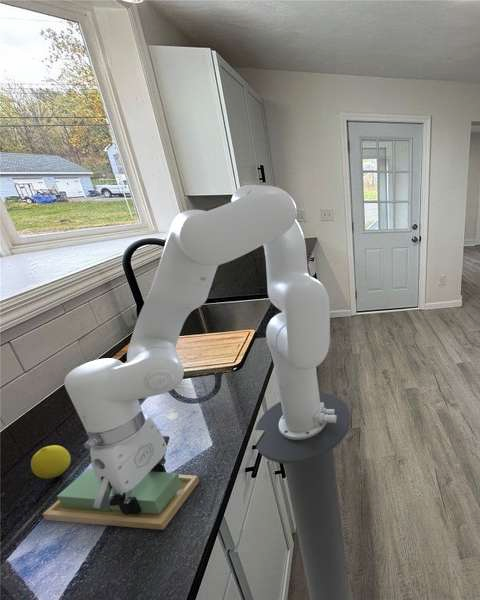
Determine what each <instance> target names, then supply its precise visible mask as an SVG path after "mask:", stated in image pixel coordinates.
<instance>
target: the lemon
mask: <svg viewBox="0 0 480 600" xmlns="http://www.w3.org/2000/svg"><path fill="white" fill-rule="evenodd" d="M71 460H72V457H71V454H70V452H69V451H68V449H66V448H65V447H64V446H61V445H58V444H57V445H56V444H51V445H47V446H44V447H42V448H40V449H39V450H38V451H37V452H35V454H34V455H33V456H32V458H31V460H30V468H31V471H32V473H33V474H34V475H35V476H36V477H38V478H40V479H53V478H56V477H60V476H61V475H62V474H63V473H65V472H66V471H67V470H68V468H69V467H70V465H71Z"/></svg>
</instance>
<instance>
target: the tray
mask: <svg viewBox="0 0 480 600" xmlns="http://www.w3.org/2000/svg"><path fill="white" fill-rule="evenodd" d="M92 470H94V469H93V468H92ZM178 475H179V478H180V481H181V483H182V486H181V487H180V489H179V490H178V491H177V492H176V494H175V495H174V496H173V497H172V499H171V500H170V501H169V503H168V504H167V505H166V506H165V508H164V509H163V510H162V511H161V513H160V514H154V513H142V512H140V513H139V514H138V515H136V514H130V515H125V514H123V513H122V512H121V511H119V510H112V511H111V512H102V511H90V510H78V509H66V508H63V506H62V504H61V503H60V501H59V499H57V500H56V501H55V502H54V503H53V504H52V505H51V506H50V507H48V508H47V509H46V510H45V511H44V512H43V513H42V516H43V517H44V519H45V520H46V521H55V522H67V523H78V524H79V523H80V524H88V525H101V526H114V527H124V528H125V527H126V528H136V529H147V530H158V531H159V530H161V531H164V530H165V528H166V527H167V526H168V524H169V523H170V522H171V520H172V519H173V518H174V516H175V515H176V514H177V512H178V511H179V510H180V509H181V507H182V506H183V504H185V501H186V500H187V499H188V498H189V496H190V495H191V493H192V492H193V491H194V489H195V488H196V487H197V485H199V483H200V479H199V476H198V475H191V474H178Z"/></svg>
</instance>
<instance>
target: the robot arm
mask: <svg viewBox="0 0 480 600" xmlns="http://www.w3.org/2000/svg"><path fill="white" fill-rule="evenodd" d="M297 213H298V210H297V206H296V203H295V201H294V199H293V197H292V196H291V194H289V193H288V192H287V191H286V190H284V189H282V188H280V187H278V186H274V185H267V184H266V185H264V184H246V185H242V186H240V187H238V188H237V189H236V190H235V191H234V192H233V194H232V196H231V201H230V202H228V203H225V204H223V205H220V206H218V207H215V208H213V209H209V210H203V209H189V210H185V211H182V212H180V213H179V214H178V215H176V217H175V218H174V220H173V221H172V223H171V227H170V229H169V232H168V235H167V238H166V241H165V244H164V247H163V251H162V253H161V257H160V259H159V263H158V266H157V269H156V272H155V275H154V277H153V280H152V284H151V286H150V289H149V290H148V291H149V292H148V293H147V295H146V298H145V301H144V303H143V305H142V308H141V310H140V312H139V314H138V317H137V320H136V323H135V327H134V329H133V331H132V335H131V338H130V341H129V344H128V348H127V352H126V363H124V362H122V361H121V360H119V359H116V358H112V357H111V358H109V357H107V358H100V359H95V360H91V361H87V362H85V363H83V364H81V365H79V366H77V367H74V368H73V369H72V370H70V371H69V372H68V373H67V374H66V376H65V377H64V380H63V381H64V382H63V384H64V387H65V390H66V392H67V394H68V396H69V398H70V400H71V402H72V405H73V406H74V409H75V412H76V413H77V416H78V417H79V419H80V421H81V423H82V425H83V428H84V430H85V433H86V436H87V438H88V439H87V441H86V442H84V444H83V447H84V448H85V449H86V450H89V455H90V460H91V465H92V470H93V469H94V473H95V475H96V478H97V480H98V483H99V485H100V488H99V491H98V494H97V496H96V499H95V502H94V504H93V508H105V507H109V506H115V505H119V507H120V509H121V512H122V513H123V514H125V515H130V514H136V515H138V514H139V513H140V512H141V508H140V506H139V504H138V501H137V499H136V497H132V489H133V488H134V487H135V486H136V485H137V484H138V483H139V482H140V481H141V480H142V479H143V478H144V477H145V476H146V475H147V474H148V473H149V472H150V471H153V472H167V470H166V467H165V464H166V461H167V460H166V458H165V457H166V454H167V451H168V444H169V442H170V440H171V439H170V438H171V437H170V436H168V435H163V434H162V432H161V431H160V429H159V427H158V425H157V424H156V422H155V421H154V420H153V418H151V417H150V415H149V414H147V413H145V414H144V411H143V409H142V406H141V404H140V401H139V399H145V398H151V397H155V396H160V395H164V394H165V393H169V392H170V391H172V390H174V389H176V388H177V387H178V386H179V385H180V384H181V383H182V381H183V378H184V376H185V369H184V366H183V364H182V361H181V358H180V357H179V355H178V352H177V350H176V347H177V344H178V341H179V338H180V334H181V331H182V329H183V327H184V324H185V322H186V320H187V319H188V317H189V315H190V314H191V312H193V311H194V310H196V309H198V308H200V307H202V306H203V305H204V304H205V303H206V301H207V300H208V297H209V293H210V291H211V288H212V284H213V281H214V278H215V276H216V272H217V270H218V267H219V266H220V265H224V264H226V263H229V262H232V261H234V260H236V259H238V258H240V257H243V256H244V255H246V254H249V253H250V252H253V251H254V250H256V249H258V248H260V247H262V246H263V249H264V257H265V266H266V267H265V268H266V269H265V270H266V285H267V286H266V287H267V296H268V299H269V301H270V303H271V304H272V305H273V306H274V307H275V308H277V309H278V310H279V311H280V312H279V313H277V314H275V315H274V316H273V317H272V318H271V319H270V320H269V322H268V323H267V326H266V330H265V337H266V342H267V346H268V349H269V353H270V355H271V358H272V359H271V360H272V362H273V367H274V372H275V377H276V382H277V388H278V394H279V399H280V400H279V401H281V405H282V411H283V416H282V417H281V419H280V421H279V431H280V433H281V434H282V435H283V436H284V437H286V438H288V439H292V440H302V439H306V438H310V437H312V436H314V435H316V434H317V433H319V432H320V431H321V430H322V429H323V428H324V427H325V425H326V424H327V422H329V423H336V420H337V416H336V415H334V412H335V410H334V409H326V408H324V403H323V402H320V397H319V392H320V389H319V382H318V373H317V367H318V366H320V365H321V363H323V361H324V360H325V359H326V358H327V355H328V353H329V350H330V343H331V303H330V296H329V294H328V291H327V289H326V287H325V286H324V285H323V283H322V282H320V280H318V279H316V278H314V277H312V276H310V274H309V270H308V269H309V267H308V258H307V257H308V256H307V245H306V240H305V236H304V232H303V231H302V228H301V225H300V224H299V222H298V220H297ZM328 414H329V415H328ZM111 490H112V497H109V495H110V492H111ZM121 493H123V494H122V495H121Z"/></svg>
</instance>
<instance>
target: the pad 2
mask: <svg viewBox="0 0 480 600" xmlns="http://www.w3.org/2000/svg"><path fill="white" fill-rule="evenodd" d="M179 475H180V474H179ZM179 475H178V472H167V471H166V472H153V471H150V472H149V473H148V474H147V475H146V476H145V477H144V478H143V479H142V480H141V481H140V482H139V483H138V484H137V485H136V486H135V487H134V488H133V489H132V497H136V499H137V501H138V504H139V506H140V508H141V512H142V513H154V514H160V513H161V511H162V510H163V509H164V508H165V506H166V505H167V504H168V503H169V501H170V500H171V499H172V497H173V496H174V495H175V494H176V492H177V491H178V490H179V489H180V487H181V486H182V483H181V481H180V478H179ZM122 494H123V493H121V495H122ZM109 497H112V491H111V492H110V495H109ZM109 507H110V509H111V510H119V511H121V509H120V507H119V505H115V506H109Z"/></svg>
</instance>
